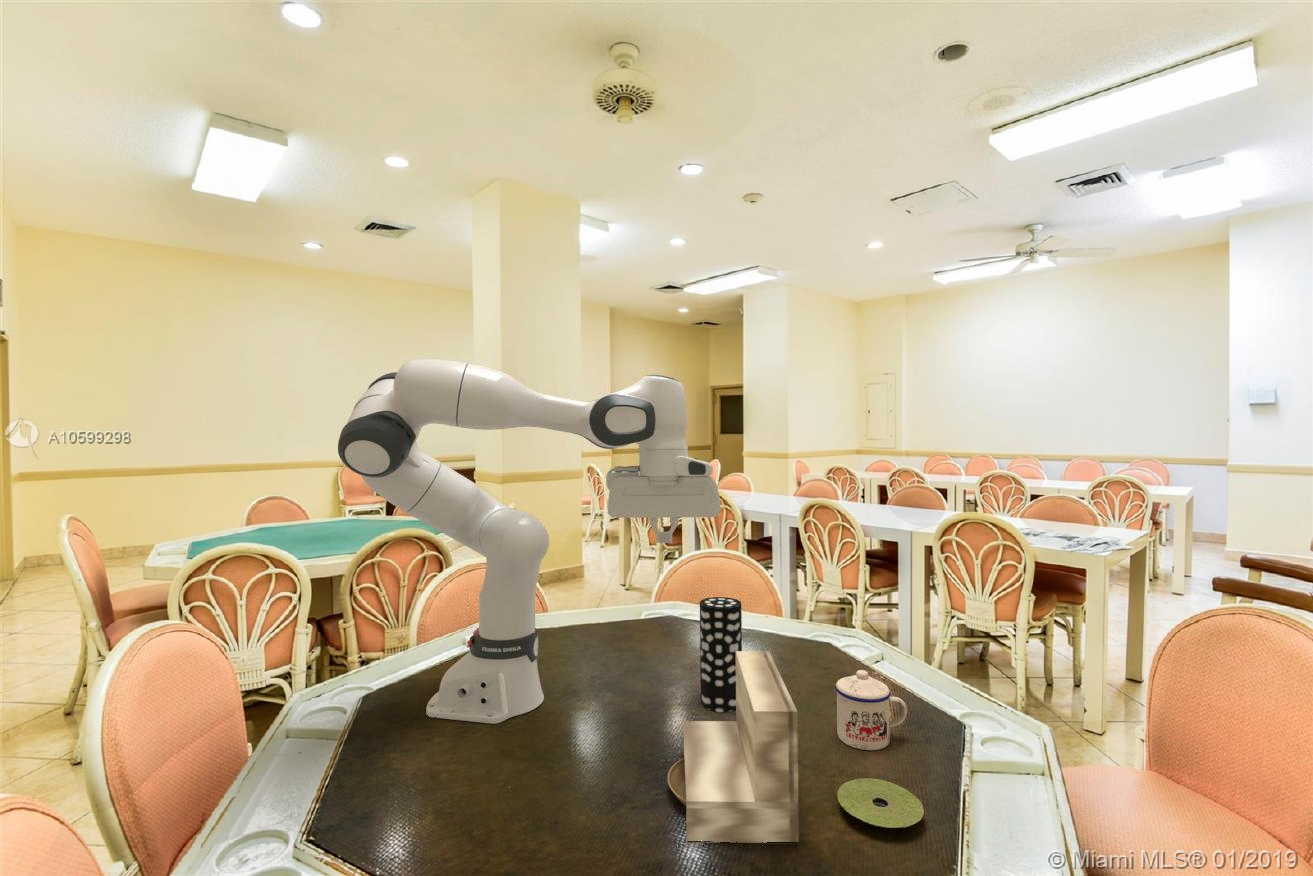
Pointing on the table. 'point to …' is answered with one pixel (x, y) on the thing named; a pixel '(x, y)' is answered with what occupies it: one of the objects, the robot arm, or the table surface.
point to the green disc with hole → (880, 803)
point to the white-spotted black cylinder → (719, 652)
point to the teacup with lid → (865, 711)
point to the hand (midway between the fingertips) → (664, 542)
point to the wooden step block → (745, 762)
